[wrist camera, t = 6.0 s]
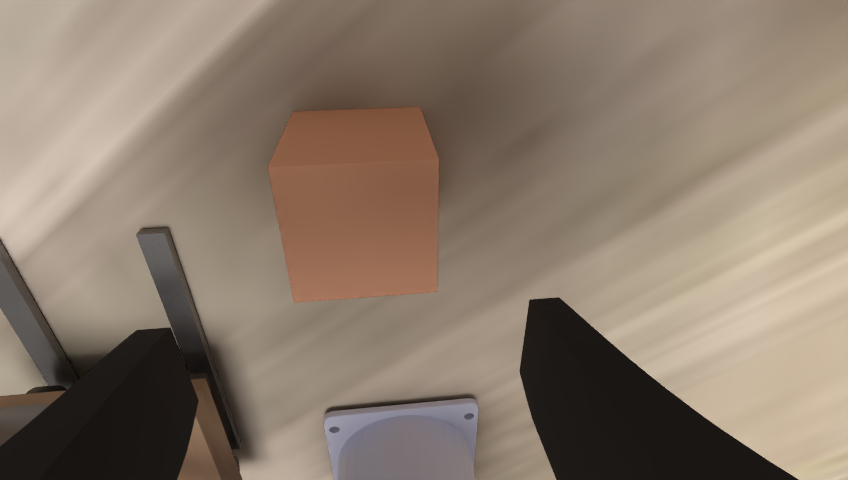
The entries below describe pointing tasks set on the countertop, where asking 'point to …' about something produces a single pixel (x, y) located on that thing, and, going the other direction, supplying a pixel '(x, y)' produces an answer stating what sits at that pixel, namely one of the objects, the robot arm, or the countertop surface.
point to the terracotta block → (357, 203)
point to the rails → (19, 307)
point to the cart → (208, 448)
